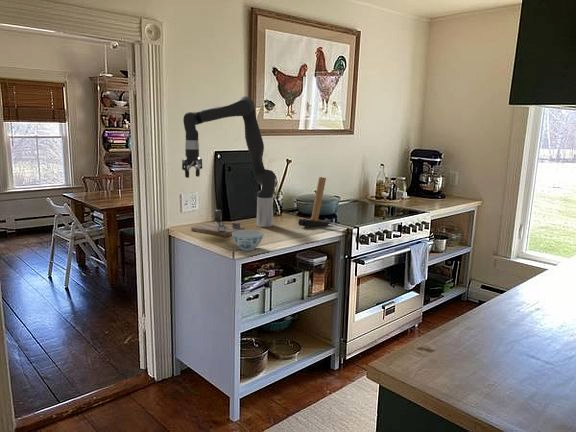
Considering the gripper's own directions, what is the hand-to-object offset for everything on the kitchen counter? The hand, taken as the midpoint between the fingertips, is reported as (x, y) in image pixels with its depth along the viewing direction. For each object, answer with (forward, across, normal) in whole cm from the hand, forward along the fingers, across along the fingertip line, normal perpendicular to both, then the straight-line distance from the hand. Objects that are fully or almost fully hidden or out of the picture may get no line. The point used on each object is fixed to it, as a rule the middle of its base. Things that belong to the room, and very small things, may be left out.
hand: (192, 177), depth 260 cm
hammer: (+28, +40, -59) cm, 77 cm away
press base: (+28, -3, -21) cm, 35 cm away
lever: (+26, -4, -23) cm, 34 cm away
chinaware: (+28, -24, -56) cm, 67 cm away
